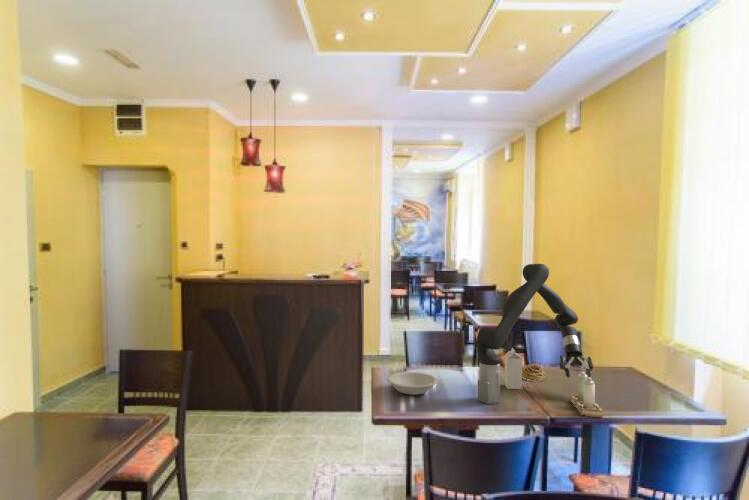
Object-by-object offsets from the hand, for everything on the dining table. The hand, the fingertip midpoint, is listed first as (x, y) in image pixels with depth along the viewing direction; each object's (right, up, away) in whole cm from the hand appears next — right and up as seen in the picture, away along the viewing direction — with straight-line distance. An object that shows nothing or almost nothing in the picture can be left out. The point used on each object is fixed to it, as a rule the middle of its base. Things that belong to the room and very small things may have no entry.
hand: (578, 377), depth 206 cm
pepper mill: (-1, -8, -7) cm, 11 cm away
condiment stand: (-2, -10, -12) cm, 16 cm away
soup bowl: (-76, -10, +9) cm, 77 cm away
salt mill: (-3, -8, -16) cm, 18 cm away
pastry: (-9, -10, +34) cm, 37 cm away
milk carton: (-25, -10, +18) cm, 32 cm away
